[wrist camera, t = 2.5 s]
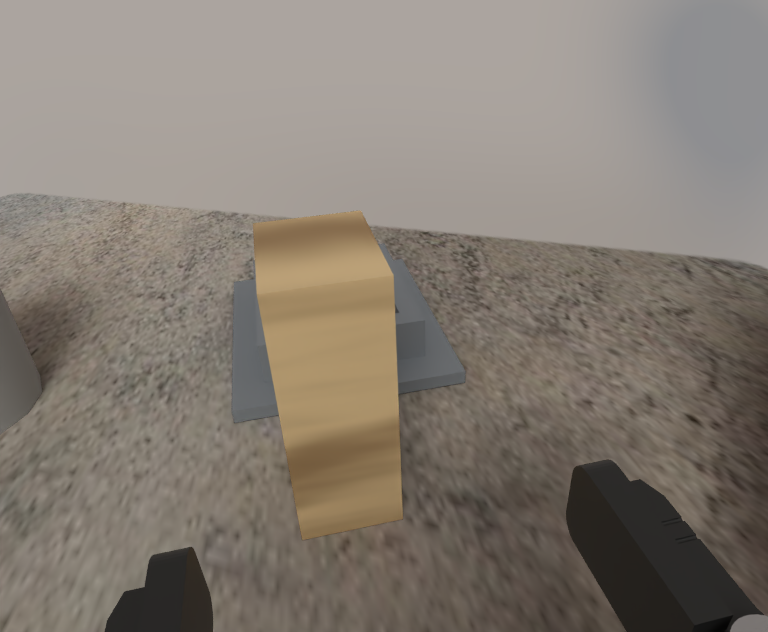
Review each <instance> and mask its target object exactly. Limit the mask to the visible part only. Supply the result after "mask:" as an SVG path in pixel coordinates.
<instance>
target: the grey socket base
mask: <svg viewBox="0 0 768 632" xmlns="http://www.w3.org/2000/svg"><path fill="white" fill-rule="evenodd" d="M378 245H379V247H380V249H381V251H382V253H383V255H384V257H385V259H386V261H387V263H388V265H389V267H390V269H391V271H392V273H393V275H394V297H395V323H396V350H397V376H398V394H402V393H408V392H414V391H419V390H425V389H431V388H437V387H442V386H448V385H454V384H459V383H465V372H466V371H465V370H464V368H463V366H462V364H461V362H460V361H459V359H458V357H457V355H456V354H455V352H454V350H453V348H452V347H451V345H450V343H449V341H448V339H447V338H446V336H445V334H444V332H443V331H442V329H441V327H440V325H439V324H438V322H437V320H436V318H435V316H434V315H433V313H432V311H431V309H430V308H429V306H428V304H427V302H426V301H425V299H424V297H423V295H422V293H421V292H420V290H419V288H418V286H417V285H416V283H415V281H414V279H413V278H412V276H411V274H410V272H409V270H408V269H407V267H406V265H405V263H404V262H403V260H402V259H399V260H393V259H392V258H391V256H390V254H389V252H388V250H387V248H386V246H385V244H384V243H383V244H378ZM253 264H254V279H252V280H245V281H238V282H234V309H233V363H232V415H233V419H234V423H236V422H242V421H248V420H254V419H259V418H265V417H271V416H276V415H279V412H278V407H277V401H276V396H275V390H274V385H273V380H272V374H271V369H270V363H269V358H268V353H267V347H266V342H265V336H264V331H263V326H262V320H261V315H260V309H259V304H258V299H257V290H256V271H255V260H253Z"/></svg>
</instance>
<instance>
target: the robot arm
mask: <svg viewBox="0 0 768 632" xmlns="http://www.w3.org/2000/svg"><path fill="white" fill-rule="evenodd" d="M566 520H567V525H568V529H569V532H570V535H571V537H572V540H573V542H574V543H575V545H576V547H577V548H578V550H579V552H580V554H581V555H582V557H583V559H584V560H585V562H586V564H587V565H588V567H589V569H590V570H591V572H592V574H593V575H594V577H595V579H596V581H597V582H598V584H599V586H600V587H601V589H602V591H603V592H604V594H605V596H606V597H607V599H608V601H609V602H610V604H611V606H612V608H613V609H614V611H615V613H616V614H617V616H618V618H619V619H620V621H621V623H622V624H623V626H624V628H625V629H626V631H627V632H768V616H765V615H764V614H763V613H761V612H760V611H759V610H758V609H757V608H756V607H755V605H754V604H753V603H752V602H751V601H750V600H749V598H748V597H747V596H746V595H745V594H744V592H743V591H742V590H741V589H740V588H739V586H738V585H737V584H736V583H735V581H734V580H733V579H732V578H731V577H730V575H729V574H728V573H727V572H726V570H725V569H724V568H723V567H722V566H721V564H720V563H719V562H718V561H717V560H716V558H715V557H714V556H713V555H712V553H711V552H710V551H709V550H708V549H707V547H706V546H705V545H704V544H703V543H702V541H701V540H700V539H697V538H696V534H695V533H694V532H693V530H692V529H691V528H690V527H689V525H688V524H687V523H686V522H685V521H682V519H681V516H680V515H679V513H678V512H677V511H676V510H675V508H674V507H673V506H672V505H671V504H670V502H669V501H668V500H667V499H666V498H665V496H664V495H662V494H661V493H659V492H658V491H656V490H655V489H654V488H652V487H651V486H649V485H648V484H646V483H645V482H643V481H642V480H640V479H639V480H635V481H629V480H628V478H627V477H626V476H625V475H624V473H623V472H622V471H621V469H620V468H619V467H618V466H617V464H616V463H614V462H613V461H611V460H603V461H598V462H594V463H589V464H584V465H580V466H576V467H575V468H574V470H573V473H572V479H571V486H570V492H569V498H568V504H567V510H566ZM105 632H213V611H212V602H211V596H210V592H209V589H208V587H207V584H206V581H205V578H204V575H203V573H202V570H201V567H200V564H199V562H198V559H197V556H196V553H195V551H194V549H193V548H192V547H188V548H183V549H179V550H174V551H169V552H165V553H160V554H155V555H152V556H151V558H150V560H149V564H148V569H147V576H146V582H145V587H143V588H139V589H134V590H130V591H125V592H124V593H123V595H122V596H121V598H120V600H119V602H118V603H117V605H116V607H115V608H114V610H113V612H112V613H111V615H110V617H109V618H108V620H107V624H106V628H105Z"/></svg>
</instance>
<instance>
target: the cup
mask: <svg viewBox="0 0 768 632" xmlns="http://www.w3.org/2000/svg"><path fill="white" fill-rule="evenodd" d="M41 393H42V386H41V377H40V374H39V372H38V370H37V367H36V365H35V363H34V361H33V359H32V357H31V354H30V352H29V350H28V348H27V346H26V343H25V341H24V339H23V337H22V335H21V332H20V330H19V328H18V326H17V324H16V321H15V319H14V317H13V315H12V313H11V310H10V308H9V306H8V304H7V302H6V300H5V297H4V295H3V293H2V291H1V289H0V434H1V433H3V432H4V431H5V430H7V429H8V428H9V427H11V426H12V425H13V424H15V423H16V422H17V421H19V420H20V419H21V418H23V417H24V416H25V415H27V414H28V413H29V411H30V410H31V408H32V407H33V405H34V404H35V402H36V401H37V399H38V398H39V396H40V395H41Z"/></svg>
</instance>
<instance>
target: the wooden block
mask: <svg viewBox="0 0 768 632" xmlns="http://www.w3.org/2000/svg"><path fill="white" fill-rule="evenodd" d="M253 232H254V252H255V271H256V290H257V299H258V304H259V309H260V315H261V320H262V326H263V331H264V336H265V342H266V347H267V353H268V358H269V363H270V369H271V374H272V380H273V385H274V390H275V396H276V401H277V407H278V412H279V418H280V423H281V428H282V434H283V439H284V445H285V450H286V455H287V461H288V466H289V472H290V477H291V482H292V488H293V493H294V499H295V504H296V509H297V515H298V520H299V526H300V531H301V536H302V540H306V539H311V538H316V537H320V536H325V535H330V534H335V533H339V532H344V531H349V530H354V529H358V528H363V527H368V526H373V525H377V524H382V523H387V522H392V521H396V520H401V519H403V509H402V482H401V456H400V429H399V403H398V376H397V350H396V323H395V297H394V275H393V273H392V271H391V269H390V267H389V265H388V263H387V261H386V259H385V257H384V255H383V253H382V251H381V249H380V247H379V245H378V243H377V241H376V240H375V238H374V236H373V234H372V232H371V230H370V228H369V226H368V224H367V222H366V220H365V218H364V216H363V214H362V212H361V211H353V212H344V213H336V214H328V215H319V216H311V217H302V218H294V219H286V220H277V221H269V222H261V223H253Z"/></svg>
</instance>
